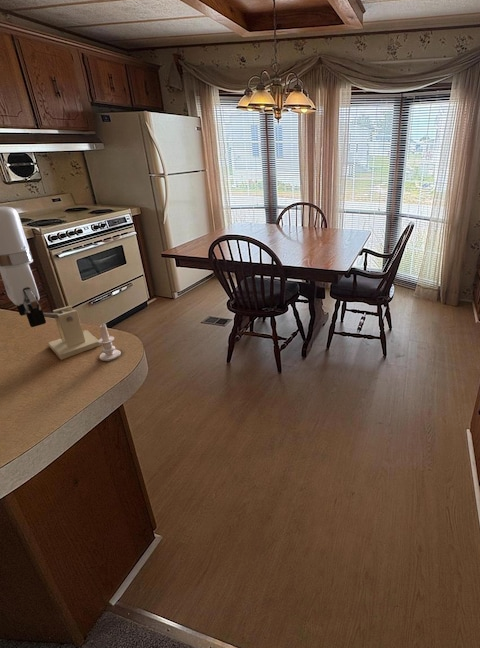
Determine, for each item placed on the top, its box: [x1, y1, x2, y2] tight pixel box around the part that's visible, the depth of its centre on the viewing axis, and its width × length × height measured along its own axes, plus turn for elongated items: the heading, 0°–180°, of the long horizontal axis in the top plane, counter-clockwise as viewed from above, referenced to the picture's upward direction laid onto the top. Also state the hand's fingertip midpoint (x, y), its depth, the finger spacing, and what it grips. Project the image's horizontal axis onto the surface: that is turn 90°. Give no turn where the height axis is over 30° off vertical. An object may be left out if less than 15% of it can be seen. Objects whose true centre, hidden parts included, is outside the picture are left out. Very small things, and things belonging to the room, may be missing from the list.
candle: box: [98, 323, 122, 362], centre depth 95 cm, size 5×5×10 cm
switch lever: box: [24, 309, 69, 319], centre depth 94 cm, size 10×6×2 cm, turn 142°
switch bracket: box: [47, 305, 101, 360], centre depth 99 cm, size 10×10×12 cm
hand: (33, 319), depth 91 cm, fingers open, 9 cm apart
